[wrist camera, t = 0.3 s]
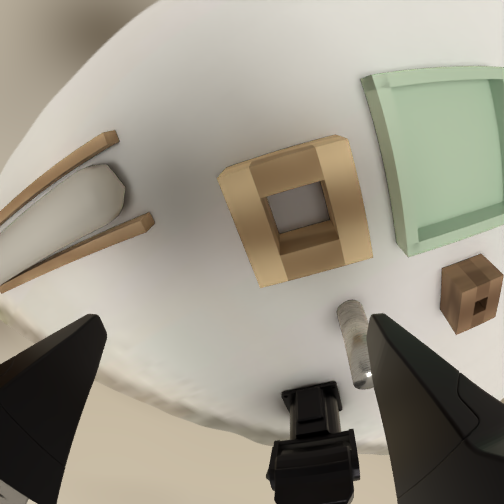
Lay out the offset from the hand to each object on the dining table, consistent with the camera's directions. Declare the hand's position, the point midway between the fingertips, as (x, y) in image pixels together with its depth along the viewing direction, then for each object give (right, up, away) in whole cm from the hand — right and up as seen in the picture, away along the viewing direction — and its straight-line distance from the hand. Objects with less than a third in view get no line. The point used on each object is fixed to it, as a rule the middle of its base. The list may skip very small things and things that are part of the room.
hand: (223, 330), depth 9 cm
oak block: (+4, +6, +12) cm, 14 cm away
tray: (+17, +10, +9) cm, 21 cm away
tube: (-20, +5, +15) cm, 26 cm away
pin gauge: (+10, -3, +16) cm, 19 cm away
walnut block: (+21, -1, +14) cm, 25 cm away
